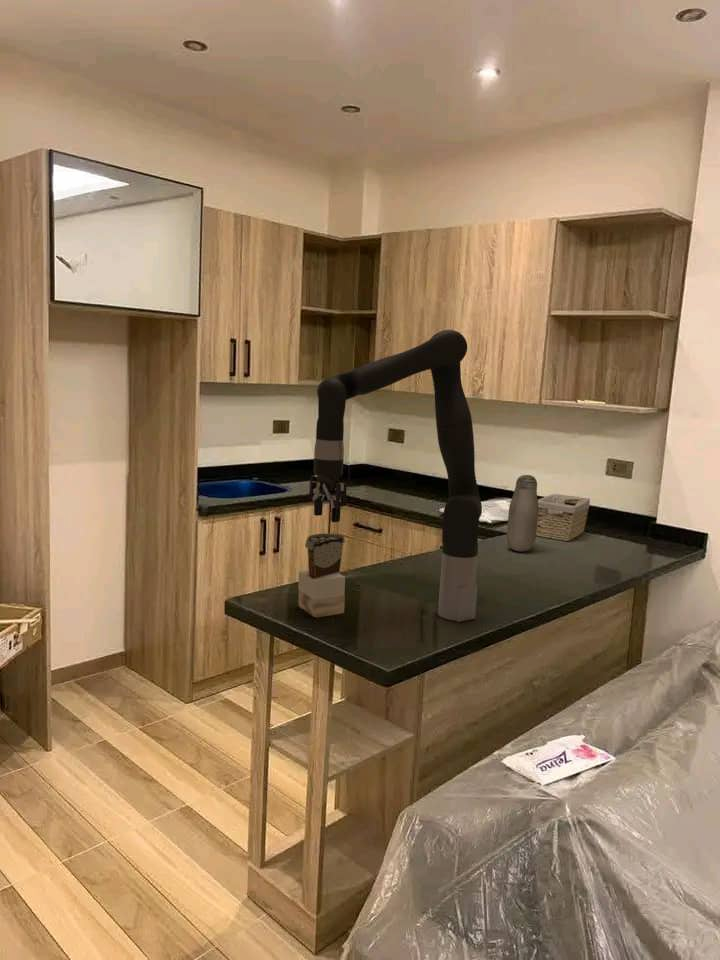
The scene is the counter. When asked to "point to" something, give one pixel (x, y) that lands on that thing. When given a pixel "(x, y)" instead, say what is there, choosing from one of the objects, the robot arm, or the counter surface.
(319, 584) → the tower top block
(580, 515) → the storage basket
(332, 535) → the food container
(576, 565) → the counter surface
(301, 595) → the tower base block
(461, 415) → the robot arm
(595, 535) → the counter surface
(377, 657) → the counter surface
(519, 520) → the grey bottle
